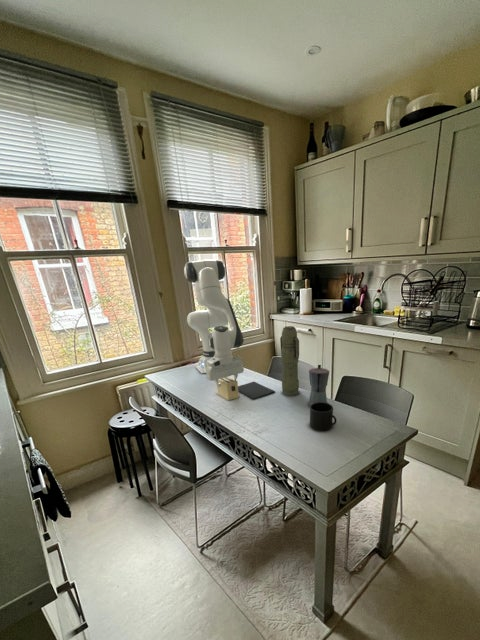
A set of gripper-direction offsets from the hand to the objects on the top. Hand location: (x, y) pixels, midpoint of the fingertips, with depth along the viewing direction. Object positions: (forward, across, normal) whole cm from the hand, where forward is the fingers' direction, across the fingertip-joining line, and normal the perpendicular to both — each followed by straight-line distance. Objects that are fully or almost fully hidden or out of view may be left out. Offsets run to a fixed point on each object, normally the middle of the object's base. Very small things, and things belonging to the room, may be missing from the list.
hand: (226, 384), depth 167 cm
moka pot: (+7, -27, +41) cm, 49 cm away
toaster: (+7, 0, 0) cm, 7 cm away
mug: (+7, -13, +58) cm, 60 cm away
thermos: (+7, -27, +20) cm, 34 cm away
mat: (+7, -14, +4) cm, 16 cm away
